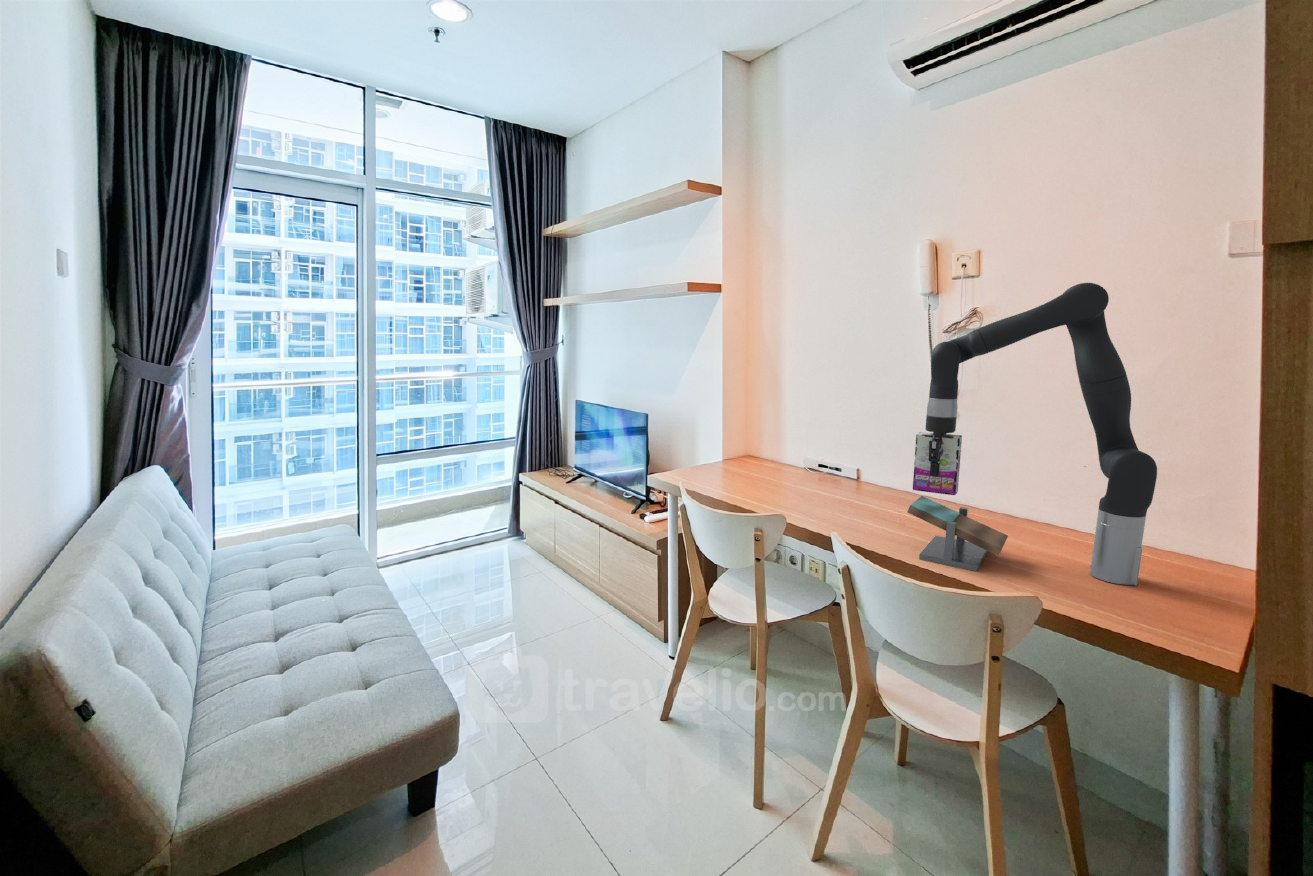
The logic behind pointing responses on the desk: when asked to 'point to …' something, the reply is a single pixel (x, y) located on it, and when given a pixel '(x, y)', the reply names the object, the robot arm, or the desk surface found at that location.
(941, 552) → the beam stand
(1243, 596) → the desk surface
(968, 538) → the balance beam
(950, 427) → the robot arm
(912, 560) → the desk surface
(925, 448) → the candy bar box
